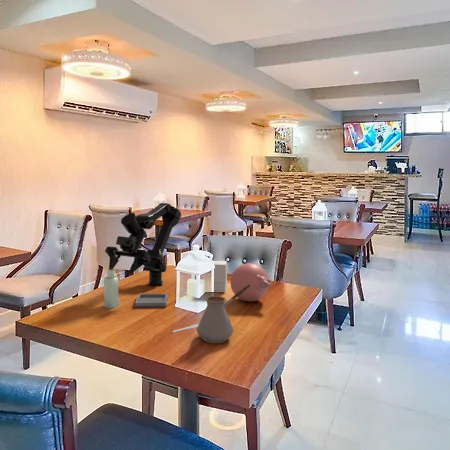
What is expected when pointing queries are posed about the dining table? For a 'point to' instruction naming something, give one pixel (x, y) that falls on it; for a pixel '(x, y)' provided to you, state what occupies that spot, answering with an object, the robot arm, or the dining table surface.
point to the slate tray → (151, 300)
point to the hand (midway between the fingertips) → (119, 272)
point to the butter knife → (187, 328)
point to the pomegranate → (250, 282)
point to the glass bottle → (110, 290)
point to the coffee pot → (217, 319)
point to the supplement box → (220, 276)
